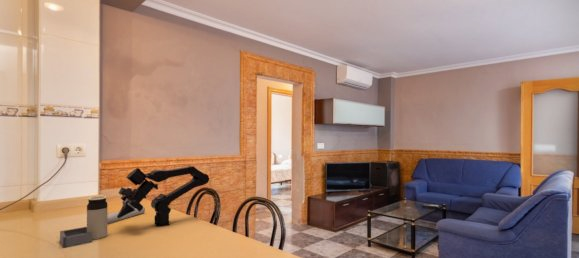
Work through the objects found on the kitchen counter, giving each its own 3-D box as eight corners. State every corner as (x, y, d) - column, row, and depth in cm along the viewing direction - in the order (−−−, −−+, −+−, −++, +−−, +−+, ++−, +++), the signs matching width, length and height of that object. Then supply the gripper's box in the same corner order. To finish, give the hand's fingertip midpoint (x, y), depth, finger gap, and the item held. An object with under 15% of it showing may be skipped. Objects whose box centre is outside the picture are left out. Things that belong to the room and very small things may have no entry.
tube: (106, 218, 157) (146, 207, 180) (100, 214, 159) (139, 203, 182) (104, 227, 157) (144, 215, 181) (97, 223, 159) (137, 211, 183)
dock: (87, 235, 142) (87, 226, 142) (92, 242, 132) (92, 232, 132) (59, 240, 135) (59, 231, 135) (62, 248, 125) (62, 238, 126)
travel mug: (111, 235, 141) (111, 196, 141) (93, 241, 134) (94, 199, 134) (100, 233, 144) (100, 195, 144) (82, 238, 137) (82, 198, 137)
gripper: (125, 178, 155) (99, 204, 148) (135, 183, 141) (108, 211, 134) (141, 192, 160) (118, 217, 153) (153, 197, 146) (128, 225, 139)
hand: (117, 217), depth 144 cm, fingers closed
